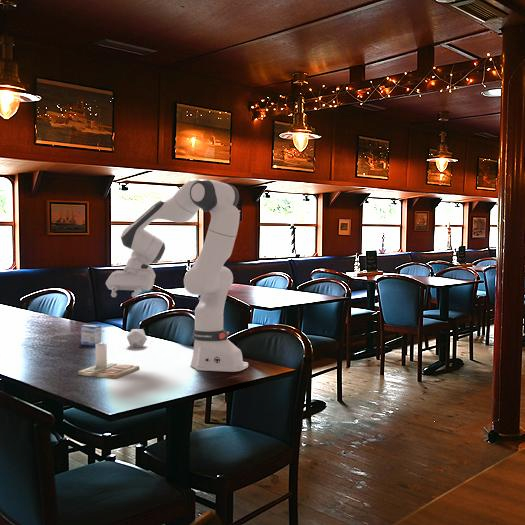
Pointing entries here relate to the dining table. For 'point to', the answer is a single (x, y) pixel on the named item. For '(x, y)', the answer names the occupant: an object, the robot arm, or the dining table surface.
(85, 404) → the dining table surface
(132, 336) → the die
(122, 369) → the board
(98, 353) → the salt shaker
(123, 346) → the dining table surface
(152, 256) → the robot arm
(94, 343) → the medicine box
